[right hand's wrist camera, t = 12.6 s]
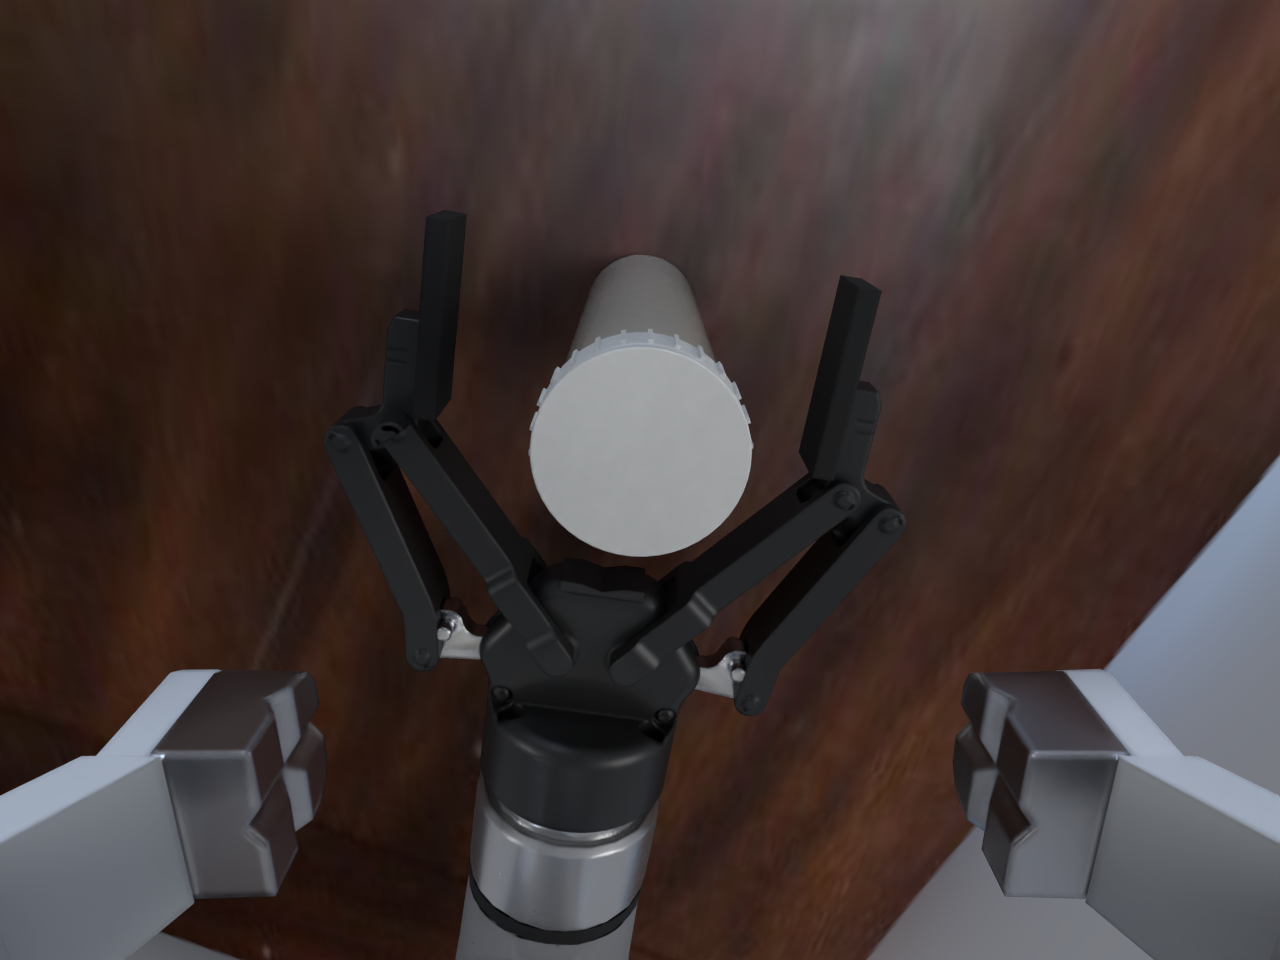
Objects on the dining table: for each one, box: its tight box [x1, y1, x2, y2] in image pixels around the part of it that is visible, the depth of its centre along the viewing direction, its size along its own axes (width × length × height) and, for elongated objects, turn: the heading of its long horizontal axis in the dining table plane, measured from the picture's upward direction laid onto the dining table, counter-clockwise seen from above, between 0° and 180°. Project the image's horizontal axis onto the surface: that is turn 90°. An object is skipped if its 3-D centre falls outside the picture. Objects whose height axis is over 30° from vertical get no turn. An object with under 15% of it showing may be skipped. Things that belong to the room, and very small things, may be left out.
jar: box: [565, 255, 717, 363], centre depth 28 cm, size 4×4×17 cm
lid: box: [529, 329, 753, 557], centre depth 20 cm, size 5×5×2 cm
